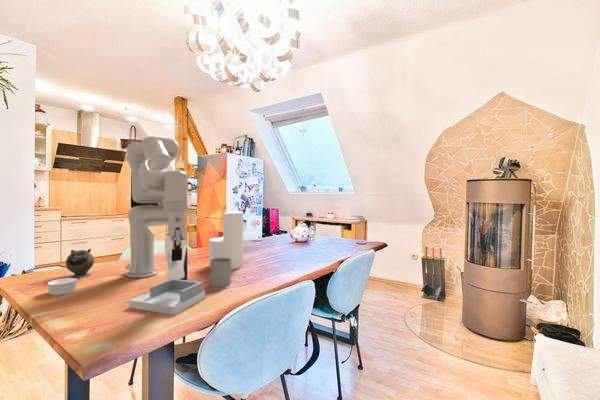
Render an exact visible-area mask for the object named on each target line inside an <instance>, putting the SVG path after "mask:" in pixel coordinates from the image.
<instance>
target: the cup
mask: <svg viewBox="0 0 600 400" xmlns="http://www.w3.org/2000/svg"><path fill="white" fill-rule="evenodd" d="M209 269H210V270H209V271H210V275H209V276H210V282H209V283H210V286H211V287H214V286H215V288H219V287H227V286H229V285H231V284H232V283H231V281H232V280H231V279H232V269H231V259H229V258H216V259H212V260H211V261H210V267H209Z"/></svg>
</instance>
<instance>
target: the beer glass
mask: <svg viewBox="0 0 600 400" xmlns="http://www.w3.org/2000/svg"><path fill="white" fill-rule="evenodd" d="M175 239H176V237H175V238H174V240H175ZM174 243H175V242H174ZM181 243H182V260H181V261H172V249H173V244H172V241H171V240H170V235H168V233H165V239H164V253H165V259H166V260H165V261H166V265H167V267H166V268H167V270H166V271H167V272H166V277H165V278H166V280H170V279H171V280H174V279H181V278H184V277H185V272H184V261H185V255H186V246H187V238H186V239H185V240H183V239H182V237H181ZM187 247H188V246H187Z"/></svg>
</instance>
